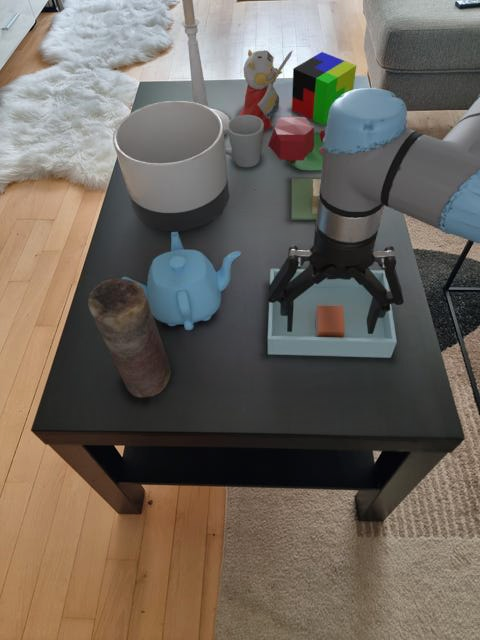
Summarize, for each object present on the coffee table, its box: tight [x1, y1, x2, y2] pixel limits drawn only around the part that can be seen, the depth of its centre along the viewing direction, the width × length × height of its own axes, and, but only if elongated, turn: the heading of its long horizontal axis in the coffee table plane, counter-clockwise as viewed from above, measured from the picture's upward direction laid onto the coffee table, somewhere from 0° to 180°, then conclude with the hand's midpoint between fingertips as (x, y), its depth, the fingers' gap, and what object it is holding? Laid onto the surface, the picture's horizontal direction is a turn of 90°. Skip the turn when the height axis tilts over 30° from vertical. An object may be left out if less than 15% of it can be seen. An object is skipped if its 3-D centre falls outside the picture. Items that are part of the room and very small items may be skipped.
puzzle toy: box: [291, 51, 357, 126], centre depth 112 cm, size 10×10×10 cm
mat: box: [290, 178, 317, 221], centre depth 97 cm, size 12×12×1 cm
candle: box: [87, 278, 172, 398], centre depth 67 cm, size 8×7×20 cm
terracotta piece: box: [315, 305, 345, 338], centre depth 76 cm, size 4×5×4 cm
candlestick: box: [180, 0, 231, 136], centre depth 102 cm, size 13×13×30 cm
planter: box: [112, 100, 230, 232], centre depth 91 cm, size 19×19×18 cm
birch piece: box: [311, 178, 321, 214], centre depth 94 cm, size 4×5×4 cm
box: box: [267, 268, 397, 359], centre depth 78 cm, size 19×14×4 cm
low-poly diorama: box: [267, 116, 326, 172], centre depth 102 cm, size 15×20×9 cm
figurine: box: [238, 49, 293, 131], centre depth 109 cm, size 13×12×15 cm
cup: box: [223, 115, 264, 168], centre depth 103 cm, size 8×10×8 cm
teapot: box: [121, 231, 242, 331], centre depth 79 cm, size 15×14×11 cm
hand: (329, 325), depth 76 cm, fingers open, 12 cm apart
